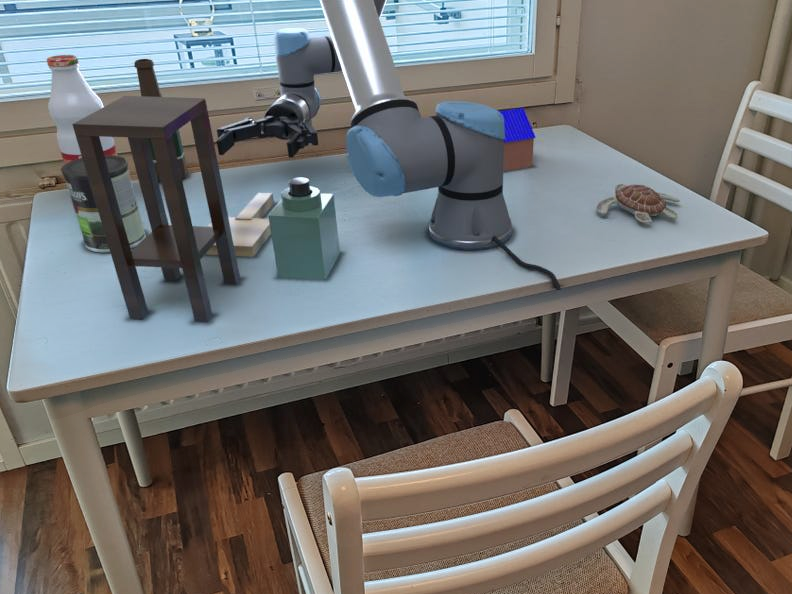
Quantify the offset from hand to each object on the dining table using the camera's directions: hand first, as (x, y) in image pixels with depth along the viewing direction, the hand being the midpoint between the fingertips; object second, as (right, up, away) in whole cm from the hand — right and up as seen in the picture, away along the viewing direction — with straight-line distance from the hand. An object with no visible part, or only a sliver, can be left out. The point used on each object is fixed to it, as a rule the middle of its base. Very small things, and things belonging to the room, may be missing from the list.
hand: (254, 149), depth 140 cm
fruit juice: (-31, -10, +6) cm, 33 cm away
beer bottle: (-24, 0, +20) cm, 32 cm away
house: (+44, +4, +28) cm, 52 cm away
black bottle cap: (+14, -13, -21) cm, 29 cm away
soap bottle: (+14, -24, -14) cm, 31 cm away
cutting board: (-1, -15, -2) cm, 15 cm away
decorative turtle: (+74, -11, +7) cm, 75 cm away
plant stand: (-3, -30, -24) cm, 39 cm away
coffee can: (-23, -19, -7) cm, 30 cm away
